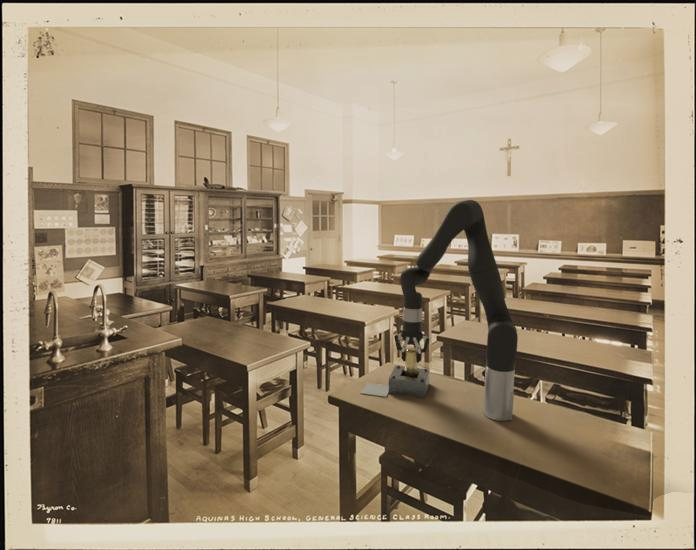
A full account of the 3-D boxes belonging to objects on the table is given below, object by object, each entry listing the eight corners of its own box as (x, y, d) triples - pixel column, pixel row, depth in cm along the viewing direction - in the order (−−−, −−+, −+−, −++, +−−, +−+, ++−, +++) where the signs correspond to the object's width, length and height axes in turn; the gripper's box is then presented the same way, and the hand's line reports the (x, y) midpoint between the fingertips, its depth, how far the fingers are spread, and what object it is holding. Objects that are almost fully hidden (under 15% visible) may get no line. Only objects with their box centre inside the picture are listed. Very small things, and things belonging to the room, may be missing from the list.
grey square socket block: (429, 383, 166) (429, 368, 165) (425, 398, 153) (426, 381, 152) (394, 379, 170) (395, 364, 169) (388, 393, 157) (388, 376, 156)
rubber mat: (391, 386, 162) (391, 385, 162) (386, 397, 153) (386, 396, 153) (367, 383, 165) (367, 382, 165) (360, 393, 156) (360, 392, 156)
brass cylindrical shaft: (418, 377, 162) (418, 348, 161) (416, 382, 157) (417, 352, 156) (405, 376, 164) (406, 347, 162) (403, 380, 159) (404, 351, 157)
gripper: (432, 318, 159) (430, 360, 161) (395, 315, 163) (394, 356, 165) (430, 322, 152) (428, 366, 154) (392, 319, 156) (391, 362, 158)
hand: (411, 361), depth 160 cm, fingers closed on brass cylindrical shaft, 5 cm apart
